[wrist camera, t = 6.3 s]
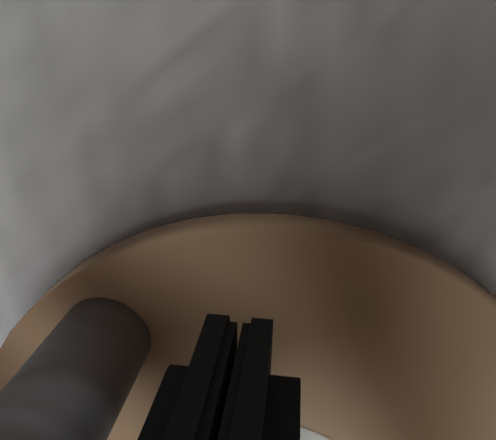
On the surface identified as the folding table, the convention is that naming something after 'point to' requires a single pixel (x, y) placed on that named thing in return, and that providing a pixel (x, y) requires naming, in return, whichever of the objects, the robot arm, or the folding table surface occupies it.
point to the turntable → (242, 311)
